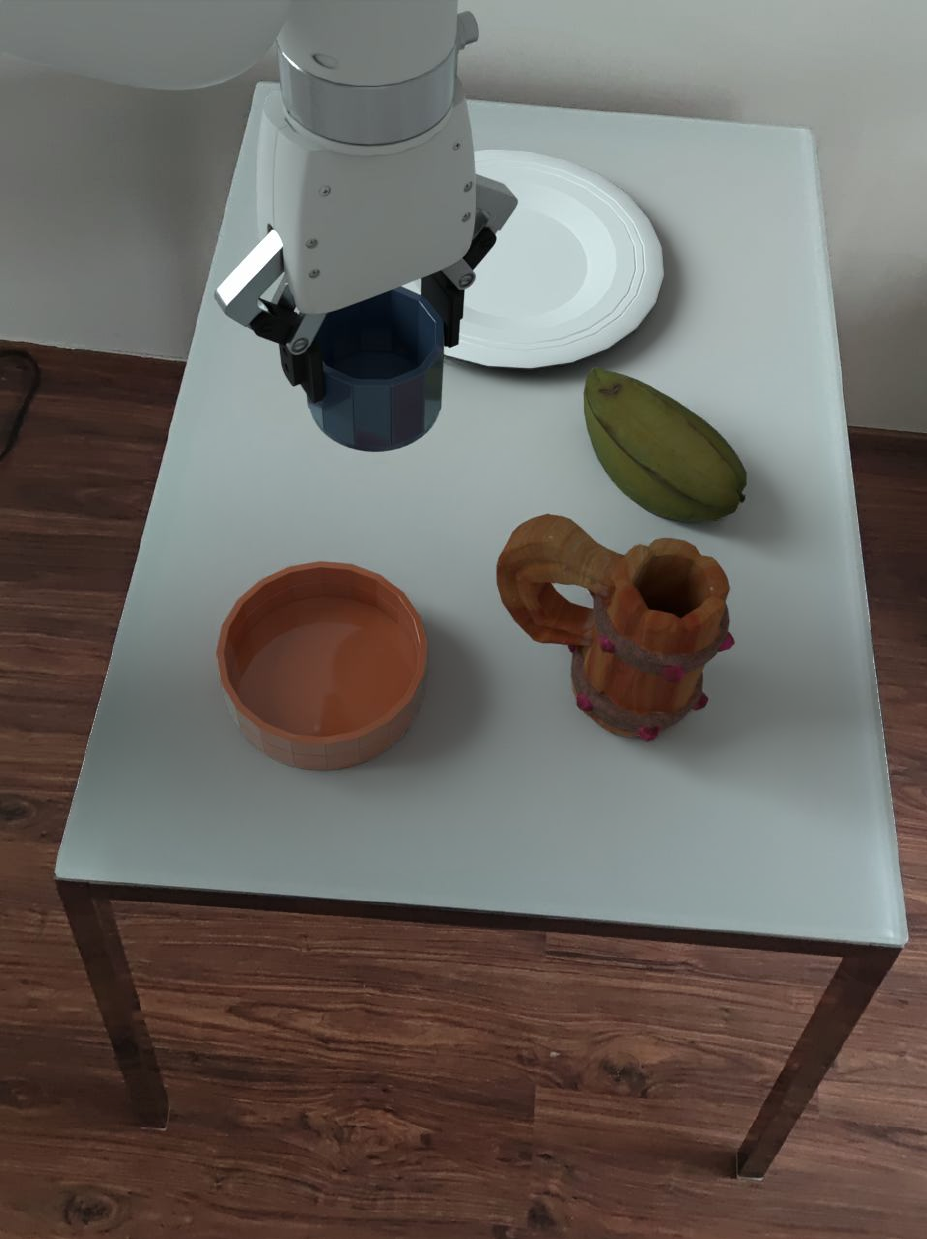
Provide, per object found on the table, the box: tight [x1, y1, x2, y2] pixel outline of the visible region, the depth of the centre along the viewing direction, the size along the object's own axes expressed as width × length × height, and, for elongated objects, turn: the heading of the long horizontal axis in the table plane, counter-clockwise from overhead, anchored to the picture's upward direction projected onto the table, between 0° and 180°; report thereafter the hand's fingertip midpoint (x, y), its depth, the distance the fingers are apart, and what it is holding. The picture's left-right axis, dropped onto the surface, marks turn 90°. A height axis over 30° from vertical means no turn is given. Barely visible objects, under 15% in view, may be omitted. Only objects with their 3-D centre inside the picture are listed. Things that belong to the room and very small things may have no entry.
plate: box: [402, 149, 665, 371], centre depth 99 cm, size 25×25×2 cm
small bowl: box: [306, 286, 445, 453], centre depth 68 cm, size 8×8×6 cm
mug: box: [495, 513, 736, 743], centre depth 74 cm, size 15×8×15 cm, turn 65°
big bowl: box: [215, 560, 429, 771], centre depth 78 cm, size 13×13×4 cm
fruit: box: [583, 366, 748, 523], centre depth 87 cm, size 11×12×7 cm
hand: (374, 355), depth 67 cm, fingers closed on small bowl, 7 cm apart
